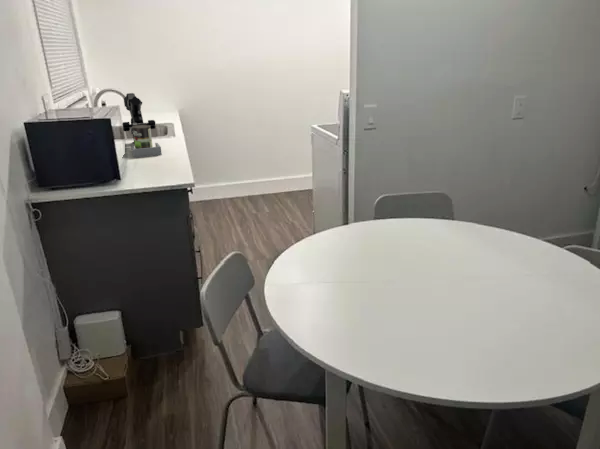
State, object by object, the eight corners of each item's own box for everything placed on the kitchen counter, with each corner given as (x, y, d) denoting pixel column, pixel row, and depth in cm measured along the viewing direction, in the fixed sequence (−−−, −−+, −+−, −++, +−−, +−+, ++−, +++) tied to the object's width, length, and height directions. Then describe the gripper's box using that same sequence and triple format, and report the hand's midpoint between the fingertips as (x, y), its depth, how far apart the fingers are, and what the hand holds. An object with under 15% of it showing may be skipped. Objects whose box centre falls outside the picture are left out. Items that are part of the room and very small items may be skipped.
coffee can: (144, 153, 270) (141, 128, 265) (131, 151, 274) (127, 127, 269) (157, 149, 278) (154, 125, 273) (144, 147, 283) (141, 123, 277)
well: (131, 153, 270) (130, 145, 269) (158, 150, 276) (157, 142, 274) (134, 157, 259) (133, 149, 258) (161, 154, 265) (160, 146, 263)
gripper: (152, 122, 294) (157, 143, 289) (121, 125, 287) (125, 146, 282) (152, 111, 284) (157, 132, 279) (120, 113, 277) (125, 135, 272)
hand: (141, 137), depth 278 cm, fingers closed
